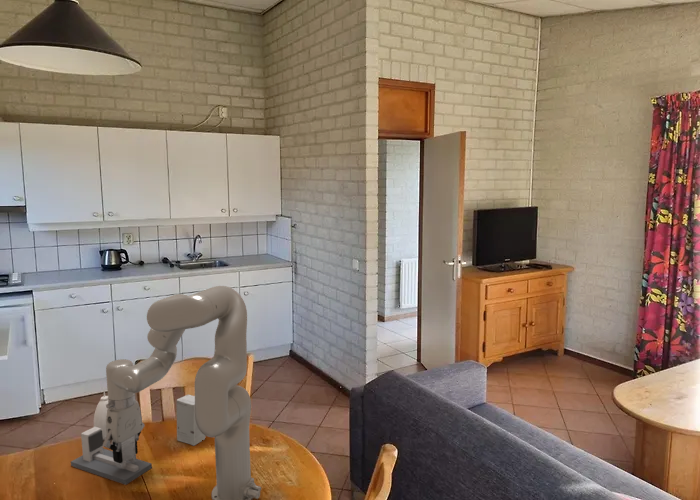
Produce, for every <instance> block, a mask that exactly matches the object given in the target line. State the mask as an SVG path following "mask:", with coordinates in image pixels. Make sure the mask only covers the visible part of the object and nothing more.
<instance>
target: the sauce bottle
mask: <svg viewBox="0 0 700 500" xmlns="http://www.w3.org/2000/svg"><path fill="white" fill-rule="evenodd" d="M106 404H108V395H106V392H105V389H103V396H101V397H100V400H99V401H98V403H97V406H96V408H95V411H94V415H93V427H98V428H101V430H102V434H103V441H104V440H105V438H106V416H107V409H108V408H106Z"/></svg>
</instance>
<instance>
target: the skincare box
mask: <svg viewBox="0 0 700 500" xmlns="http://www.w3.org/2000/svg"><path fill="white" fill-rule="evenodd" d="M205 438H206V436H205V435H204V434H203V433H202V432H201V431H200V430H199V428H198V426H197V424H196V419H195V395H191V394H186V395H184V396H181V397H180V398H179V397H178V398H177V399H176V440H177V441H178V442H182V443H186V444H188V445H191V446H196V445H197V444H199V443H201V442H203V441H204V440H206V439H205ZM202 440H203V441H202Z"/></svg>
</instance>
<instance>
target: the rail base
mask: <svg viewBox="0 0 700 500" xmlns="http://www.w3.org/2000/svg"><path fill="white" fill-rule="evenodd" d="M80 435H81V436H80V437H81V438H80V439H81V447H82V449H81V450H82V455H80V456H79V457H77V458H75V459H73V460H71V461H70V466H71V467H72V466H73V468H76V469H77V470H78V469H79V470H82V471H85V472H88V473H91V474H93V475H96V476H98V477H102V478H105V479H108V480H111V481H114V482H116V483H120V484H122V485H125V486H126V485H128V484H130V483H132V482H133V481H134V480H136V479H138V478H139V477H140V476H141V475H144V474H145V473H146V472H148V471H149V470H151V469H152V468H153V466H152V465H153V463H151V462H148V461H146V460H142V459H138V458H136V462H134V463H132V462H129V461H127V462H125V464H126V468H125V469H120V468H117V467H116V462H115V461H114V460H113V450H111V449H108V448H105V447H103V446H102V445H103V443H104V440H103V434H102V430H101V428H98V427H94V426H93V427H91V428H89V429H86V430H85V431H83V432H81V434H80Z"/></svg>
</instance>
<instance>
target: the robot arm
mask: <svg viewBox="0 0 700 500" xmlns="http://www.w3.org/2000/svg"><path fill="white" fill-rule="evenodd" d="M217 319H218V323H217V327H216V328H215V329H216V330H215V333H214V353H213V357H212V358H210V359H209V360H208V361H206V362H204V363H203V364H202V365H201V366H200V367H199V368H198V369H197V372H196V374H195V379H194V396H195V419H196V424H197V426H198V428H199V430H200V431H201V432H202V433H203V434H204V435H205V437H208V438H214V453H215V455H214V456H215V473H216V474H215V476H216V485H215V486H214V487H213V489H212V491H211V499H212V500H253V499H257V500H258V499H259V498H260V496H261V491H262V486H260V485H256V482H255V478H254V477H252V476H251V475H252V474H251V470H252V469H251V453H250V452H251V448H250V447H251V446H250V420H251V411H252V399H251V396H250V394H249V391H248V390H247V389H246V388H245V387H243V386H240V385H238V384H239V383H241V381H242V380H243V381H244V378H245V377H246V374H247V368H248V367H247V365H248V364H247V361H248V359H247V357H248V356H247V355H248V352H247V349H248V347H247V346H248V345H247V332H248V331H247V329H248V328H247V327H248V326H247V325H248V310H247V306H246V303H245V300H244V298H243V297H242V296H241V295H240V294H239V293H238V292H237V291H236V290H235V289H234V288H232V287H230V286H226V285H217V286H212V287H210V288H206V289H205V290H202V291H199V292H196V293H194V294H191V295H187V294H185V293H184V294H183V293H178V294H173V295H171V296H167V297H164V298H161V299H160V300H156V301H154V302H153V303H152V304H151V305H150V306H149V308H148V310H147V312H146V321H147V324H148V326H149V327H150V329H149V331H148V333H147V341H148V343H149V344H150V345H151V346H152V347H153V348H154V350H153V351H152V353H151V354H150V356H149V357H148V358H146V359H145V360H142V361H140V362H138V363H137V364H133V362H132V361H131V359H121V358H120V359H116V360H112V361H110V362H108V363H107V364H106V367H105V373H106V374H105V375H106V387H107V396H108V404H106V408H108V409H107V416H106V438H105V440H103V445H102V446H103V448H106V449H108V450H110V451H113V460H114V461H115V462H118V463H122V462H123V458H122V450H120V447H121V442H123V441H125V440H127V439H129V438H131V437H132V436H134V435H135V452H136V455H138V452H139V451H138V450H139V449H138V441H139V439H140V435H141V433H142V431H143V430H144V428H145V425H146V424H145V423H144V422H143V417H142V410H141V408H140V404H139V401H138V400H136V393H140V392H142V391H143V390H146V389H147V388H149V387H150V386H152V385H154V384H156V383H157V382H159V381H161V380H162V379H164V377H165V376H166V375H167V374H168V373H169V371H170V370H171V367H172V366H173V365H174V363H175V361H176V358H177V355H178V353H177V352H178V347H177V345H178V343H179V341H180V339H181V338H182V336H183V334H184V333H185V330H189V329H190V330H191V329H196V328H199V327H203V326H205V325H207V324H209V323H211V322H213V321H216V320H217ZM116 443H117V445H116V446H115V444H116Z"/></svg>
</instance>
